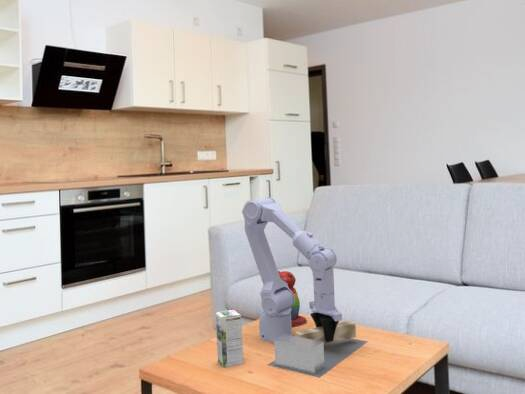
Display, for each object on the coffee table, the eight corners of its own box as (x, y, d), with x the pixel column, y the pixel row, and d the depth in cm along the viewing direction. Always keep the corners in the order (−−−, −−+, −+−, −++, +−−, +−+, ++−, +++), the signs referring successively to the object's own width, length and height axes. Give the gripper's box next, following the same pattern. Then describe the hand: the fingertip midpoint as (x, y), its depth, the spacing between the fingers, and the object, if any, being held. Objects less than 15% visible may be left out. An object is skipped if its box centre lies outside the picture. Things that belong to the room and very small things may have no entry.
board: (267, 368, 134) (267, 364, 134) (319, 336, 156) (319, 332, 156) (319, 381, 124) (319, 377, 124) (367, 344, 147) (367, 341, 146)
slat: (300, 349, 138) (300, 335, 138) (295, 345, 141) (295, 331, 141) (355, 337, 145) (355, 323, 145) (350, 334, 148) (349, 320, 148)
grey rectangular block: (275, 365, 133) (274, 340, 133) (285, 358, 137) (284, 334, 137) (314, 374, 126) (313, 348, 126) (324, 367, 130) (323, 341, 130)
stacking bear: (309, 322, 170) (306, 270, 169) (290, 330, 163) (287, 276, 162) (285, 316, 178) (282, 266, 177) (265, 324, 170) (262, 272, 169)
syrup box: (217, 364, 139) (214, 312, 138) (237, 359, 141) (234, 308, 140) (224, 371, 133) (220, 317, 132) (245, 366, 136) (241, 313, 135)
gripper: (299, 288, 147) (301, 334, 148) (325, 300, 134) (327, 350, 135) (320, 285, 150) (322, 329, 151) (347, 296, 137) (349, 345, 138)
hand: (326, 339), depth 143 cm, fingers closed on slat, 3 cm apart
